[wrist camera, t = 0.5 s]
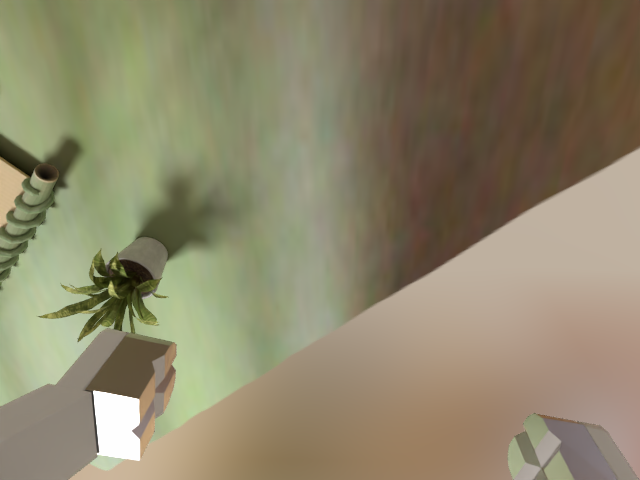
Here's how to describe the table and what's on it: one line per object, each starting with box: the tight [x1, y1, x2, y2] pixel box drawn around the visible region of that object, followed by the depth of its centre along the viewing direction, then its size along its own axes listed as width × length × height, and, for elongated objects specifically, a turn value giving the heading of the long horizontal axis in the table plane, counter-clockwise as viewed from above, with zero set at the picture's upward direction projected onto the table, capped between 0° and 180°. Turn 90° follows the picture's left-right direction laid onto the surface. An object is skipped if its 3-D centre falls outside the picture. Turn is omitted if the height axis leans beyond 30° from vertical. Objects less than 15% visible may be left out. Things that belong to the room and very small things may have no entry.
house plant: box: [38, 237, 168, 344], centre depth 51 cm, size 14×14×16 cm
